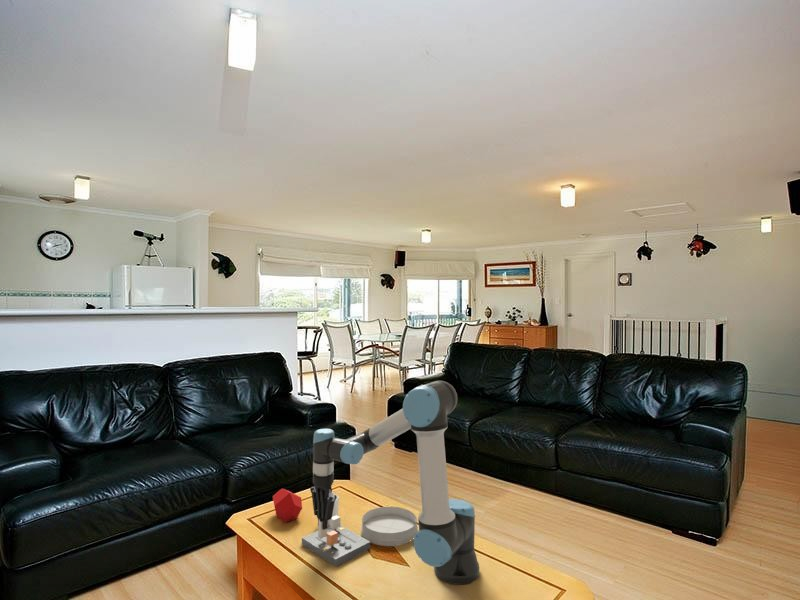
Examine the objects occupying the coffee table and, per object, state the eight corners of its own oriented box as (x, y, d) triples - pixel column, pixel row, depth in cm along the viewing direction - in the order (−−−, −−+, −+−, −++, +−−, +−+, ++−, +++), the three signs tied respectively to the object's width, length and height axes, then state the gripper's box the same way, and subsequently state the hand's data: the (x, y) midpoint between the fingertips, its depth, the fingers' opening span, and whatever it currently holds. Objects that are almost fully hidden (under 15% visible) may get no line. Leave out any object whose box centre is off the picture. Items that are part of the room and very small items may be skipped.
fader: (337, 546, 166) (337, 532, 166) (330, 549, 164) (330, 535, 164) (333, 543, 168) (333, 530, 168) (326, 546, 165) (326, 533, 165)
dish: (351, 540, 176) (352, 527, 175) (373, 514, 196) (373, 503, 196) (407, 551, 168) (407, 537, 168) (424, 523, 189) (424, 511, 189)
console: (370, 548, 170) (370, 540, 169) (335, 566, 158) (335, 557, 158) (335, 529, 183) (335, 521, 183) (301, 544, 172) (301, 536, 172)
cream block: (340, 529, 178) (340, 517, 178) (333, 532, 175) (333, 520, 175) (336, 527, 179) (336, 515, 179) (329, 530, 177) (329, 517, 177)
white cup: (340, 517, 193) (340, 493, 193) (336, 526, 185) (336, 501, 185) (322, 516, 194) (322, 492, 194) (316, 525, 186) (317, 500, 186)
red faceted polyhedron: (277, 531, 185) (262, 506, 196) (304, 523, 193) (288, 500, 204) (284, 506, 183) (268, 482, 193) (310, 499, 191) (294, 477, 201)
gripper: (342, 474, 167) (341, 539, 168) (320, 465, 176) (320, 526, 177) (326, 480, 162) (325, 547, 162) (304, 470, 171) (303, 533, 171)
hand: (322, 536), depth 169 cm, fingers closed
